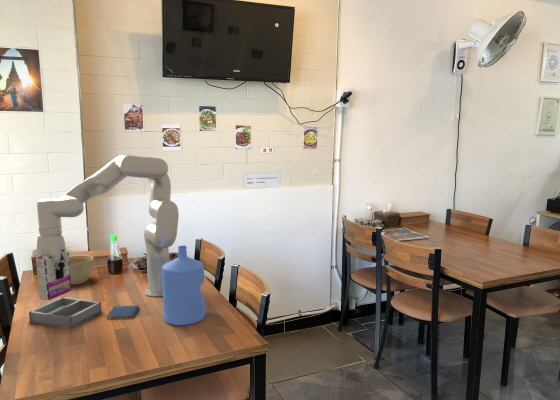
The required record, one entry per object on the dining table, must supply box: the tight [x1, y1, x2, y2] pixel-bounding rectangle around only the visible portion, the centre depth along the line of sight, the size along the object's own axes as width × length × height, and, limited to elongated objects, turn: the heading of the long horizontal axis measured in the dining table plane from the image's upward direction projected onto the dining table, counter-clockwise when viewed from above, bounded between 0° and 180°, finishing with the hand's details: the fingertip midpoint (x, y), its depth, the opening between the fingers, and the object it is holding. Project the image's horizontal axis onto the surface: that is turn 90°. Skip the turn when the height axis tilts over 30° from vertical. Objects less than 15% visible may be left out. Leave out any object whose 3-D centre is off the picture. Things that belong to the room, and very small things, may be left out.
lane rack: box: [28, 296, 102, 330], centre depth 164 cm, size 19×16×4 cm
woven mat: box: [105, 304, 140, 321], centre depth 167 cm, size 10×11×2 cm
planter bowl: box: [69, 254, 94, 286], centre depth 204 cm, size 16×16×11 cm
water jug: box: [162, 245, 206, 327], centre depth 161 cm, size 16×16×28 cm
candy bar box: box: [35, 250, 72, 301], centre depth 163 cm, size 11×5×16 cm, turn 161°
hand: (54, 277), depth 163 cm, fingers closed on candy bar box, 5 cm apart
